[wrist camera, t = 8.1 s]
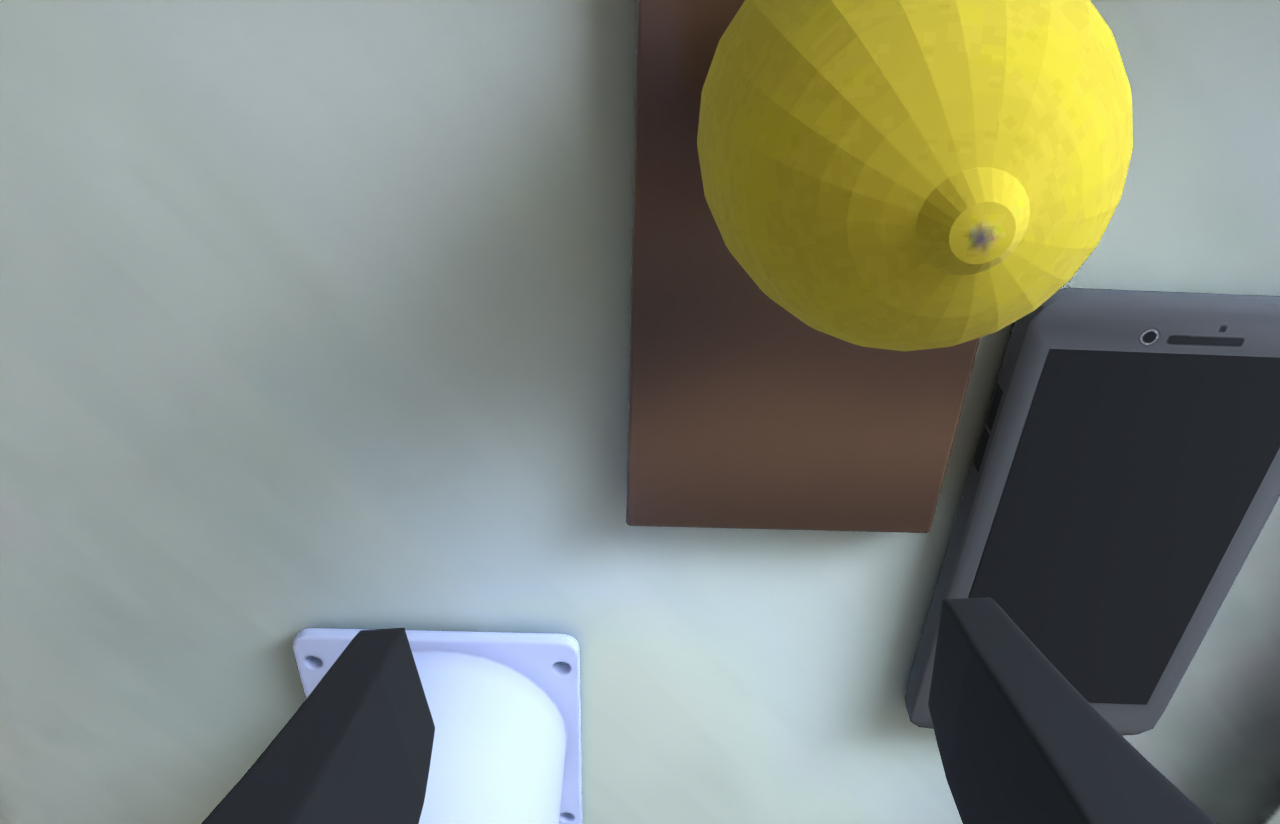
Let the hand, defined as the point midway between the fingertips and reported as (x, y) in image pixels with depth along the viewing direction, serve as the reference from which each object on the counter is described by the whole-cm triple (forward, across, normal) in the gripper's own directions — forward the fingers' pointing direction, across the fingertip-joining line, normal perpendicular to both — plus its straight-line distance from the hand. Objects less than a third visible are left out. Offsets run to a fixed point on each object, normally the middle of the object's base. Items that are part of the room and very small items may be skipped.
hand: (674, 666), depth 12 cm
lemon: (+9, -4, -6) cm, 11 cm away
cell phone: (+9, -11, +6) cm, 16 cm away
